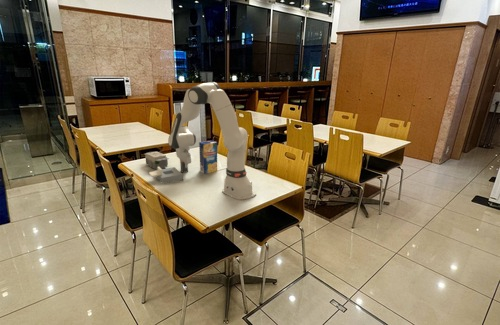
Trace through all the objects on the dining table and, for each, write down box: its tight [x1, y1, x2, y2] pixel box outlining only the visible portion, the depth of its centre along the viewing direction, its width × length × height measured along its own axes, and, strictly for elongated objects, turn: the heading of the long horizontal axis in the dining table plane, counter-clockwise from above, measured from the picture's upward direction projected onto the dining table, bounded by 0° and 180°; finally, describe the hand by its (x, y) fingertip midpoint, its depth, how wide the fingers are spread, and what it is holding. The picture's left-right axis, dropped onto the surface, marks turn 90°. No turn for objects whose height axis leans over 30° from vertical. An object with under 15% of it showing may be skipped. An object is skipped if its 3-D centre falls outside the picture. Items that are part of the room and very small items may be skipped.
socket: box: [154, 167, 184, 184], centre depth 192 cm, size 16×14×4 cm
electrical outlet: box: [143, 151, 170, 170], centre depth 213 cm, size 12×28×10 cm, turn 40°
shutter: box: [148, 167, 163, 177], centre depth 186 cm, size 7×7×4 cm
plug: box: [179, 159, 189, 173], centre depth 204 cm, size 4×4×9 cm
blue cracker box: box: [198, 140, 218, 175], centre depth 205 cm, size 7×11×22 cm, turn 127°
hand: (184, 166), depth 205 cm, fingers open, 6 cm apart
